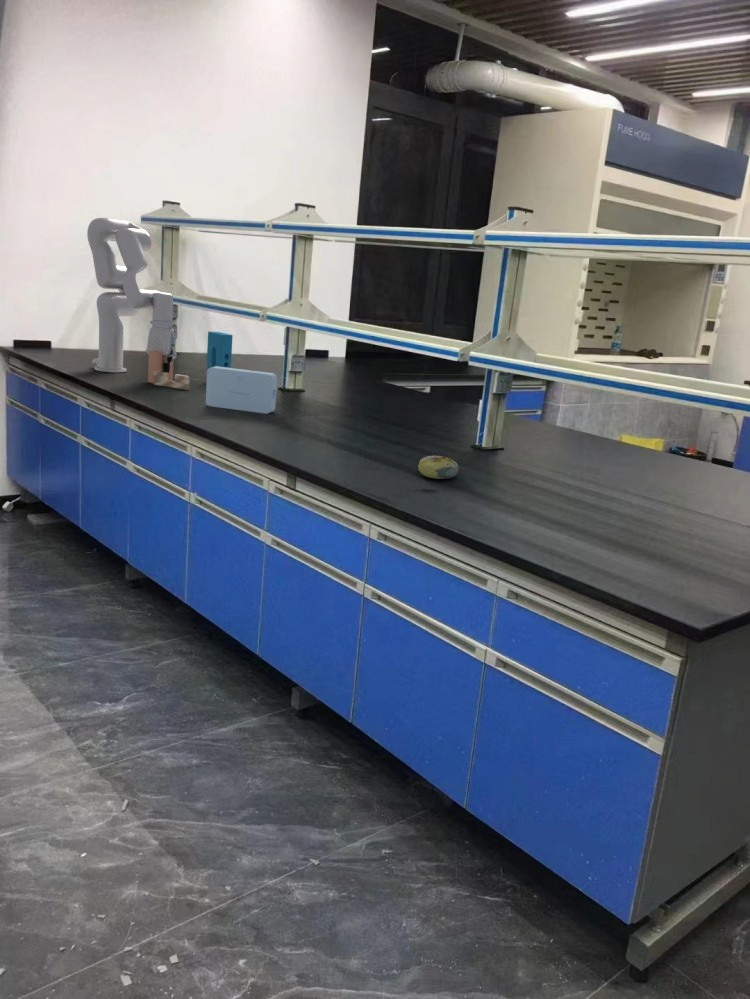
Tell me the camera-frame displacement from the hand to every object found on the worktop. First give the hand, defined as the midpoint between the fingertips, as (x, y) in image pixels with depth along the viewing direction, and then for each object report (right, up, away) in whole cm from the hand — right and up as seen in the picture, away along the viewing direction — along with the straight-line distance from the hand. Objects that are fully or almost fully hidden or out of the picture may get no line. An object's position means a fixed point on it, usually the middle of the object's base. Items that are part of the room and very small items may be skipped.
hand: (160, 371), depth 335 cm
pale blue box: (+38, -19, -42) cm, 60 cm away
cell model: (+100, -45, -112) cm, 157 cm away
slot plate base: (+6, -7, -10) cm, 14 cm away
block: (+20, -3, +12) cm, 24 cm away
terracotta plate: (0, -4, +1) cm, 4 cm away
